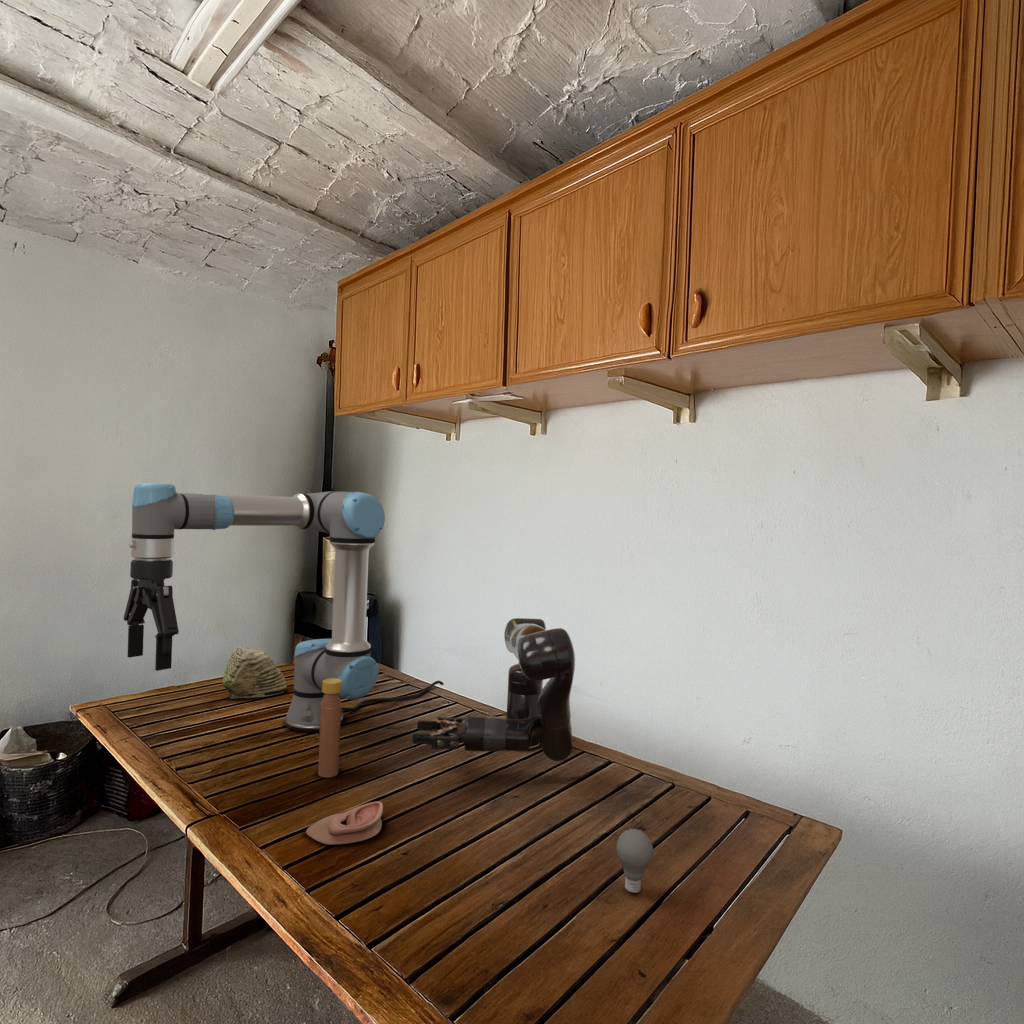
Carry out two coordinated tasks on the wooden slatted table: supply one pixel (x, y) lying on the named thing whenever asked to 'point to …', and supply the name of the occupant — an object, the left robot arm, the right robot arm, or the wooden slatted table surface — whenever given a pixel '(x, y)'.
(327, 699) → the bottle
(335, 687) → the cap
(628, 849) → the light bulb
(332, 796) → the wooden slatted table surface
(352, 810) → the anatomical model
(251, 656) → the fossil
